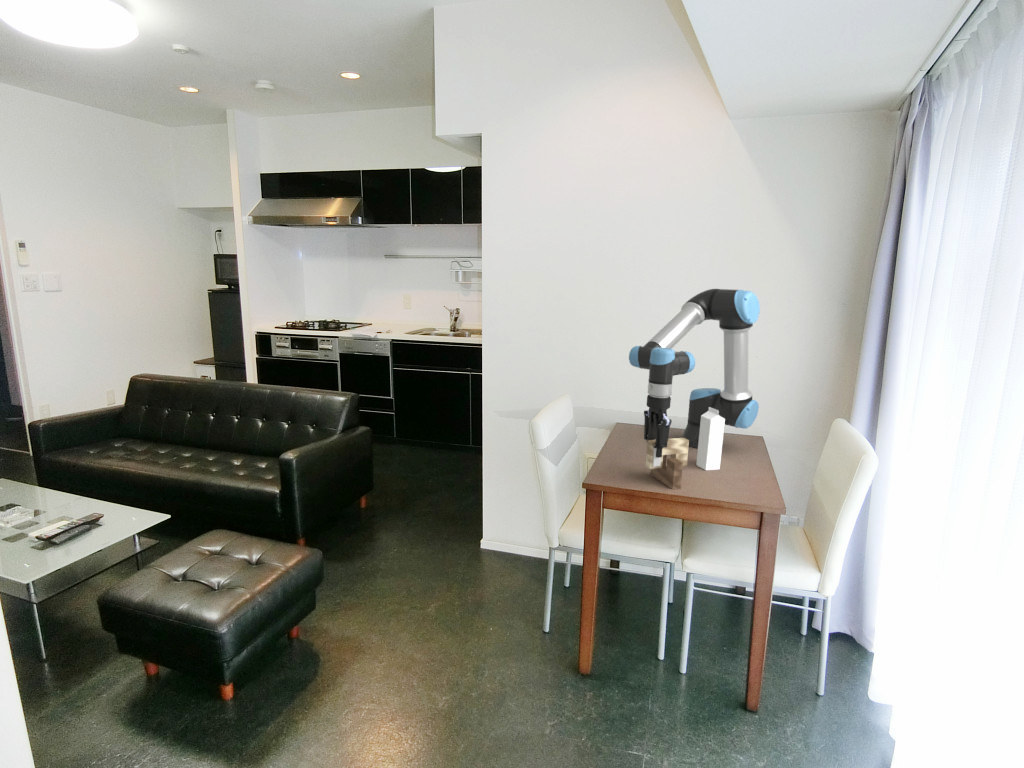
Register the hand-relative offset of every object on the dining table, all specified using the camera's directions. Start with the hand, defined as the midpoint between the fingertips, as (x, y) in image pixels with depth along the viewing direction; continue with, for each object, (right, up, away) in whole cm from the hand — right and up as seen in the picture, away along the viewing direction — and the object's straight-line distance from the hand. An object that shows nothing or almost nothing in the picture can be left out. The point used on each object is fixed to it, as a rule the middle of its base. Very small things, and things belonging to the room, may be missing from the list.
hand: (653, 463), depth 196 cm
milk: (+24, -4, +18) cm, 31 cm away
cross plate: (+5, -1, +2) cm, 5 cm away
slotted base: (+5, -6, +3) cm, 8 cm away
